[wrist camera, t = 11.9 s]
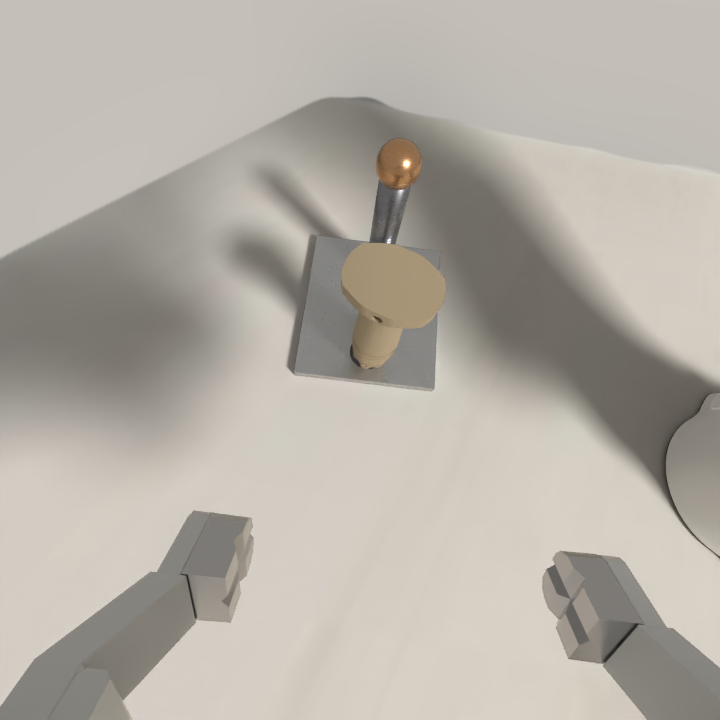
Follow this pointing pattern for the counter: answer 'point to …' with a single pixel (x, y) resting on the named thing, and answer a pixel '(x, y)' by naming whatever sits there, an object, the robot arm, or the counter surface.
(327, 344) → the plate
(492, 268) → the counter surface
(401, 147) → the lever with round knob
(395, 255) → the handle
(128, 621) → the robot arm
